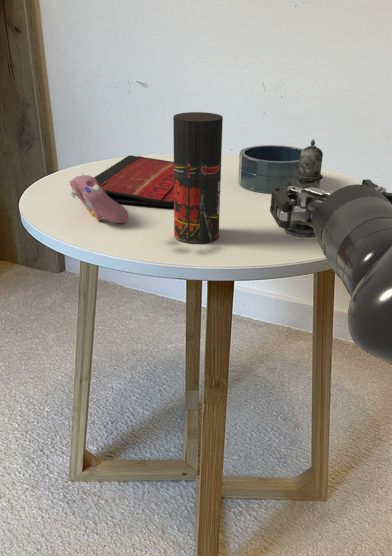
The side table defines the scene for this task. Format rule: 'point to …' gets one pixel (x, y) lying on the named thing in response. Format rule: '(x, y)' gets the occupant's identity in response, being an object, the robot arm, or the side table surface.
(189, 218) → the deodorant
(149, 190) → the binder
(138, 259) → the side table surface
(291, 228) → the salt shaker
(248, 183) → the pot
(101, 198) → the video game controller
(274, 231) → the side table surface
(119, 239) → the side table surface
